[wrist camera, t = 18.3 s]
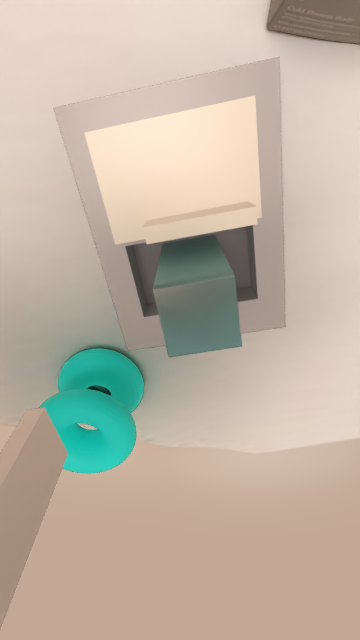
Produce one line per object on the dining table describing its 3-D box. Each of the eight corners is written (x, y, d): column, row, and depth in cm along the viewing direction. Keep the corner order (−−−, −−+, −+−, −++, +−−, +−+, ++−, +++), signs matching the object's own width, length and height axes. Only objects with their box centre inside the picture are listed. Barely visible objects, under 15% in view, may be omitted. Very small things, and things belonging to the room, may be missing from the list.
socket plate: (132, 334, 34) (128, 350, 31) (69, 114, 25) (53, 108, 22) (275, 311, 33) (285, 326, 30) (266, 70, 23) (279, 56, 20)
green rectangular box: (162, 243, 29) (152, 289, 18) (214, 234, 29) (235, 276, 18) (172, 291, 31) (168, 357, 21) (220, 283, 31) (242, 346, 20)
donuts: (5, 446, 28) (65, 386, 25) (47, 379, 37) (95, 327, 34) (92, 492, 32) (155, 443, 28) (111, 420, 40) (161, 376, 37)
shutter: (117, 241, 26) (107, 254, 22) (88, 133, 22) (70, 128, 19) (258, 215, 25) (272, 224, 21) (252, 98, 21) (266, 85, 18)
